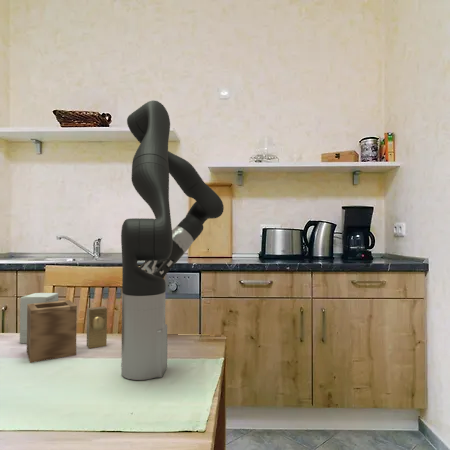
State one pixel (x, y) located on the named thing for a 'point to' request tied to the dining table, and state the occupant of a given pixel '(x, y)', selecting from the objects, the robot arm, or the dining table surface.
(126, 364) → the robot arm
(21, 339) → the supplement box
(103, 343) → the gold rectangular block
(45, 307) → the brown wooden bin
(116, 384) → the dining table surface
